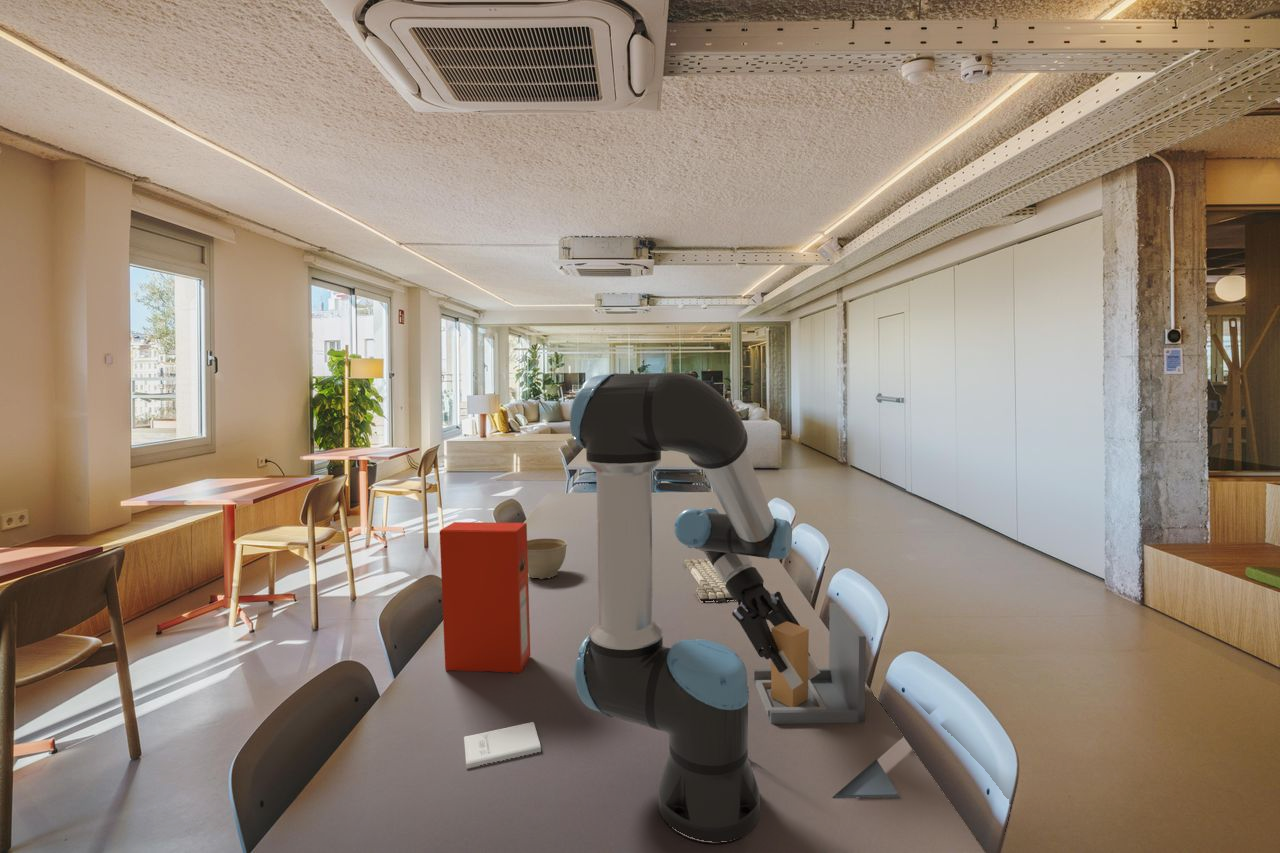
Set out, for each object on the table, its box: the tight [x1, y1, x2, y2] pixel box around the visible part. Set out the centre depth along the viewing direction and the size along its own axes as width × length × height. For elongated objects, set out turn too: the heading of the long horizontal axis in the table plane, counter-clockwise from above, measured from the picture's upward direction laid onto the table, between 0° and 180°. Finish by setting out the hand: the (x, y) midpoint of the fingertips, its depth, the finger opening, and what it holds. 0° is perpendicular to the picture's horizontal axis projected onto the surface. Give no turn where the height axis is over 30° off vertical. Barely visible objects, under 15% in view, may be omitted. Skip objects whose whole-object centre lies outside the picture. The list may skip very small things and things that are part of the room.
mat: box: [832, 759, 900, 799], centre depth 91 cm, size 10×10×1 cm
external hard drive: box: [463, 721, 542, 770], centre depth 100 cm, size 2×8×12 cm
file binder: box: [439, 521, 531, 674], centre depth 129 cm, size 8×17×32 cm, turn 85°
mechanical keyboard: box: [683, 557, 733, 603], centre depth 184 cm, size 38×19×3 cm, turn 8°
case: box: [753, 602, 867, 725], centre depth 111 cm, size 18×16×18 cm
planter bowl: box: [527, 537, 568, 579], centre depth 192 cm, size 16×16×11 cm
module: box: [770, 621, 810, 707], centre depth 111 cm, size 5×5×14 cm
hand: (806, 680), depth 108 cm, fingers closed on module, 5 cm apart
